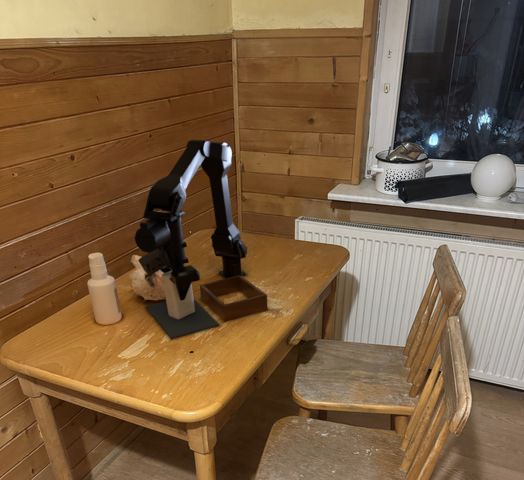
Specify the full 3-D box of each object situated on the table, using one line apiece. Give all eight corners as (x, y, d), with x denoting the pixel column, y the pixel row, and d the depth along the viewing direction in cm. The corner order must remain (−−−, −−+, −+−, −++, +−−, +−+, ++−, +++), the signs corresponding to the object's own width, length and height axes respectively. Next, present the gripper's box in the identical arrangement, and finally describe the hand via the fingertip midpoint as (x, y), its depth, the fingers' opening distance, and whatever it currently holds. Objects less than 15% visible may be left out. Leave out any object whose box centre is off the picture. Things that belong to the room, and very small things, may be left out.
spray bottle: (127, 315, 136) (114, 251, 127) (112, 326, 131) (99, 261, 121) (105, 311, 138) (91, 249, 129) (90, 323, 133) (75, 258, 123)
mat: (146, 308, 140) (145, 306, 139) (189, 297, 145) (189, 295, 144) (171, 339, 125) (170, 337, 124) (219, 325, 130) (219, 323, 129)
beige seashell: (179, 316, 148) (184, 297, 143) (128, 315, 142) (132, 295, 137) (168, 274, 159) (173, 255, 153) (121, 271, 153) (125, 251, 147)
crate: (200, 299, 143) (199, 284, 141) (241, 289, 148) (240, 274, 146) (224, 322, 131) (223, 306, 129) (267, 309, 137) (267, 294, 134)
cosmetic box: (185, 308, 138) (179, 266, 131) (196, 312, 135) (190, 269, 129) (167, 316, 134) (160, 273, 128) (178, 321, 131) (171, 277, 125)
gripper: (128, 234, 127) (138, 290, 135) (151, 257, 113) (161, 318, 121) (170, 226, 132) (177, 281, 140) (197, 247, 118) (204, 307, 126)
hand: (178, 296), depth 132 cm, fingers closed on cosmetic box, 5 cm apart
